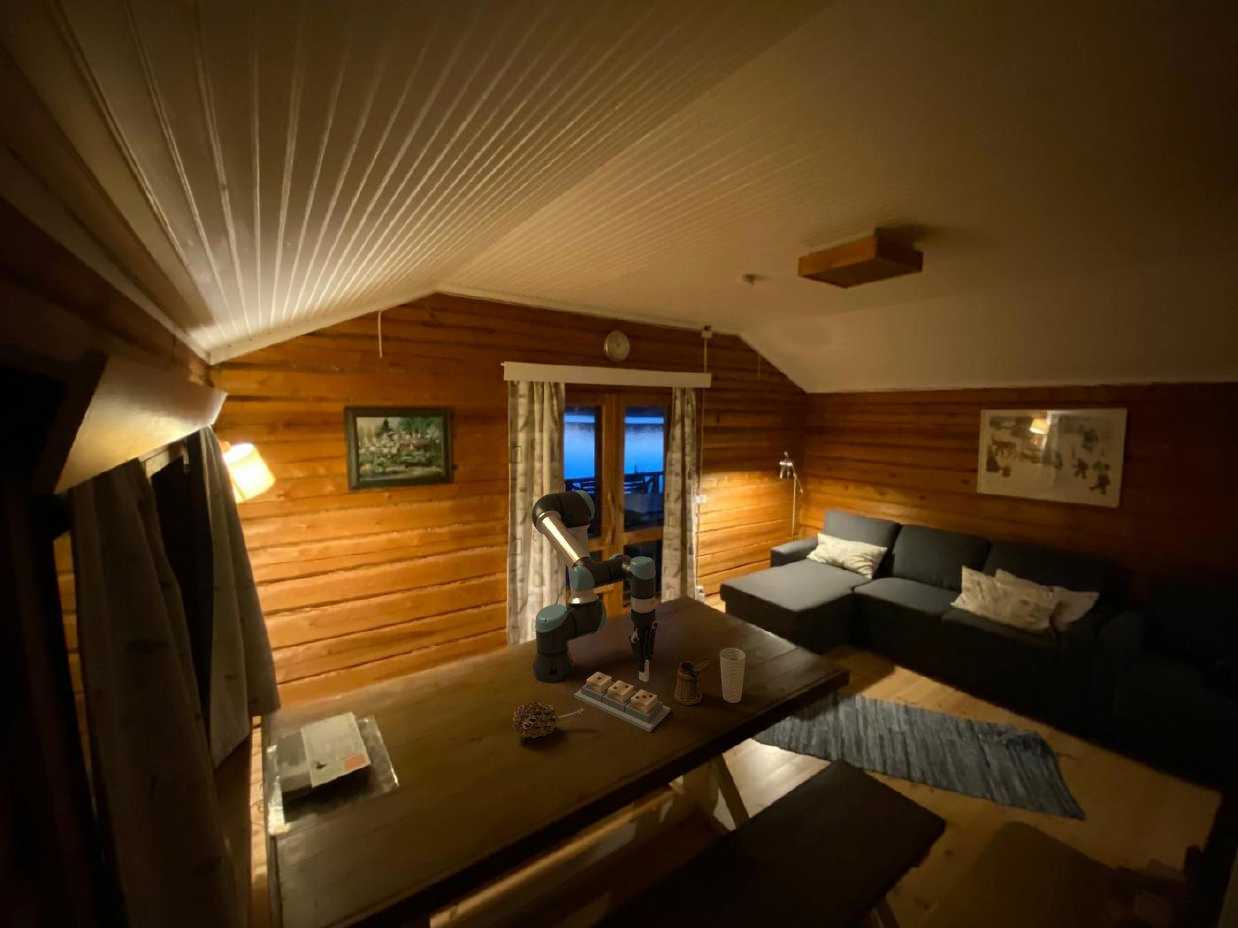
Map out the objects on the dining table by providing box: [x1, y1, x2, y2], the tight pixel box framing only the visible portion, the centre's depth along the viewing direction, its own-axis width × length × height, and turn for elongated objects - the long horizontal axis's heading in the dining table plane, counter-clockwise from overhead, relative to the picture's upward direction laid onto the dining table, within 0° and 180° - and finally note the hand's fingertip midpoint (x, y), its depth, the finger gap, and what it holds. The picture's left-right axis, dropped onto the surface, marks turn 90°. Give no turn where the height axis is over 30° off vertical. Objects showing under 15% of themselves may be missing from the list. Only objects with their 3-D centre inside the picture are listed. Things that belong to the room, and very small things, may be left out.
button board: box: [573, 681, 671, 733], centre depth 166 cm, size 30×12×3 cm, turn 54°
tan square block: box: [585, 671, 613, 694], centre depth 171 cm, size 6×6×3 cm
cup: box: [719, 647, 747, 704], centre depth 168 cm, size 8×8×16 cm
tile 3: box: [631, 689, 658, 714], centre depth 161 cm, size 6×6×3 cm
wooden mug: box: [673, 658, 711, 706], centre depth 167 cm, size 9×14×18 cm, turn 30°
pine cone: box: [512, 701, 585, 739], centre depth 153 cm, size 22×10×10 cm, turn 109°
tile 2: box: [608, 680, 635, 703], centre depth 166 cm, size 6×6×3 cm
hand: (644, 679), depth 159 cm, fingers closed
